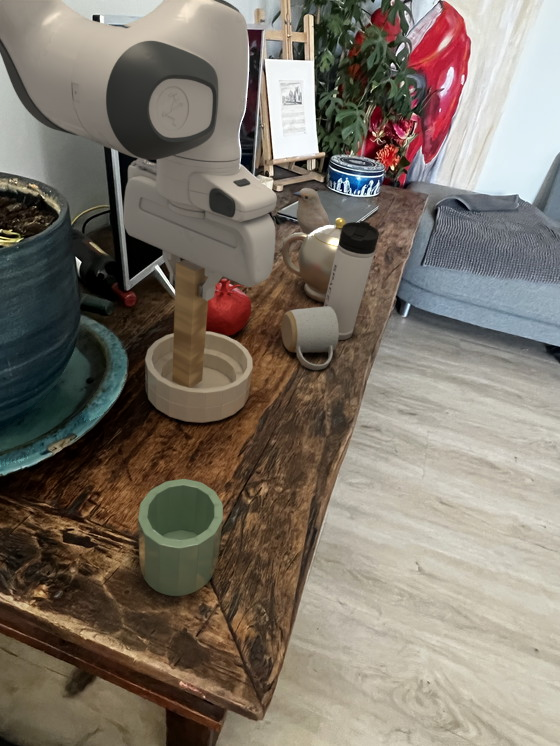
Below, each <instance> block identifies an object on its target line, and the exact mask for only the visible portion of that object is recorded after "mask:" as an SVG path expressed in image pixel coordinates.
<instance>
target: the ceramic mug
mask: <svg viewBox="0 0 560 746" xmlns="http://www.w3.org/2000/svg"><path fill="white" fill-rule="evenodd" d="M280 327H281V328H280V329H281V330H280V331H281V339H282V343H283V345H284V348H285V349H286V350H287V351H288V352H290V353H296V357H297V359H298V361H299V362H300V364H301V365H302V366H304V367H305V368H306V369H308V370H312V371H320V370H324V369H326V368H327V367H328V366H329V364H330V363H331V361H332V359H333V354H334V353H333V352H334V351H335V350H336V348H337V345H338V343H339V340H338V337H339V326H338V320H337V316H336V314H335V312H334V310H333V309H332V308H331V307H329V306H325V307H324V306H318V307H307V308H298V309H297V308H296V309H291V310H288V311H286V312H285V313H284V315H283V316H282V318H281V326H280ZM303 353H328V357H327V360H326V361H325V362H324V363H321V364H316V363H312V362H310V361H308V360H307V359H306V358H305V357H304V356H303Z"/></svg>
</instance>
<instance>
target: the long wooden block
mask: <svg viewBox="0 0 560 746" xmlns="http://www.w3.org/2000/svg"><path fill="white" fill-rule="evenodd" d="M207 279H208V277H207V276H205V268H203V267H201V266H198V265H196V264H194V263H191V262H189V261H187V260H185V259H182V260H180V262H178V263H176V276H175V286H174V314H173V318H174V319H173V333H174V342H173V375H172V381H173V382H175V383H177V384H179V385H181V386H184V387H188V388H192V387H193V386H195V385H196V384H198V383H199V382H201V381H202V376H203V362H204V349H205V335H206V322H207V309H208V301H206V300H204V299H202V298H199V297H198V296H197V285H198V284H200V283H203V282H205V281H206V280H207Z"/></svg>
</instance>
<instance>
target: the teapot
mask: <svg viewBox="0 0 560 746" xmlns="http://www.w3.org/2000/svg"><path fill="white" fill-rule="evenodd" d="M345 224H347V222H346V220H345V218H343V217H338V218H336V219H335V221H334V224H330V225H327V226H323V227H320V228H318V229H316V230H314V231H313V232H312V233H310V234H309V235H308V234H305V233H303V232H294V233H292V234H289V235H288V236H287V237H286V239H284V241H283V243H282V248H281V257H282V261H283V263H284V265H285V266H286V268H287V270H289V271H290V272H291V273H293V275H296V276H298V277H300V278H302V280H303V281H304V282H305V284H304V287H303V289H304V290H303V291H304V292H305V295H306V296H307V297H308V298H310V299H311V300H313V301H316V302H319V303H321V304H322V303H323V304H324V303H325V299H326V294H327V290H328V285H329V281H330V277H331V272H332V268H333V264H334V259H335V255H336V250H337V247H338V242H339V239H340V234H341V230H342V227H343V225H345ZM297 241H302V243H301V245H300V248H299V251H298V256H297V266H296V265H294V263H293V262H292V260H291V258H290V257H291V256H290V249H291V248H290V247H291V245H293V244H294V243H295V242H297Z"/></svg>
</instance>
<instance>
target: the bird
mask: <svg viewBox="0 0 560 746" xmlns="http://www.w3.org/2000/svg"><path fill="white" fill-rule="evenodd" d="M292 196H296V197H297V199H298V200H297V201H298V202H297V210H296V220H297V224H298V225H299V228H300V229H301V231H302V233H305V234H308V235H309V234H310V233H312V232H313V231H314V230H316V229H318V228H320V227H323V226H327V225H331V223H330V222H331V221H330V218H329V216H328V213H327V212H326V210H325V208H324V206H323V204H322V201H321V198H320V196H319V194H318V192H317V191H316V190H315V189H313V188H311V187H309V188H308V187H303V188H301V190H299V191H297V192H293V193H292Z"/></svg>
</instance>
